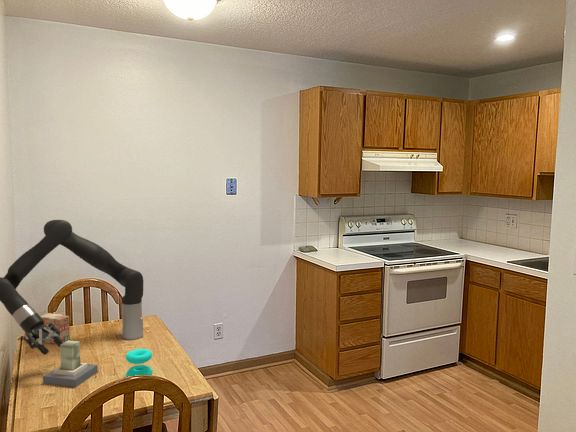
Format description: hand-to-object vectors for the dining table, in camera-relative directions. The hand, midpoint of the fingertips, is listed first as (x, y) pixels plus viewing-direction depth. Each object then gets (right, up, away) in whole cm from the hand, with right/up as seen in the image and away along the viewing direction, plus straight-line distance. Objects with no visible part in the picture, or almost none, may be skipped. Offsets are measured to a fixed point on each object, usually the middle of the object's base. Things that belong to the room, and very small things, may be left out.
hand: (54, 349), depth 187 cm
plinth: (+7, -11, 0) cm, 13 cm away
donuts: (+33, -12, +2) cm, 35 cm away
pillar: (+7, -8, 0) cm, 11 cm away
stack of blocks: (-23, -7, +41) cm, 48 cm away
